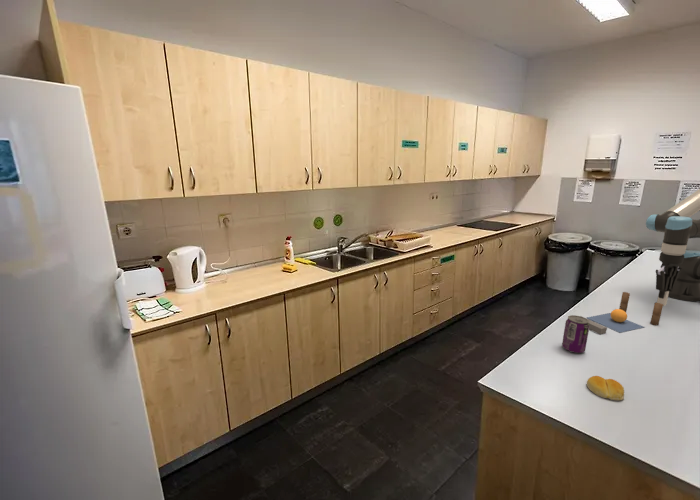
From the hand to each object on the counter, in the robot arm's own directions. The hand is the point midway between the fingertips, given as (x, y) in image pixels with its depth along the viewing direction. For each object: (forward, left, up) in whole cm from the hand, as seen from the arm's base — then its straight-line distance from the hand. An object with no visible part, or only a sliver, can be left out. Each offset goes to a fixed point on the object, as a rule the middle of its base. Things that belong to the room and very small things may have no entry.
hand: (661, 304), depth 148 cm
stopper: (+42, 0, -4) cm, 42 cm away
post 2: (+14, +6, -4) cm, 16 cm away
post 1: (+14, -6, -4) cm, 16 cm away
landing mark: (+28, 0, -4) cm, 28 cm away
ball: (+25, 0, -1) cm, 25 cm away
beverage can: (+63, +10, -4) cm, 64 cm away
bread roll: (+75, +30, -5) cm, 81 cm away
